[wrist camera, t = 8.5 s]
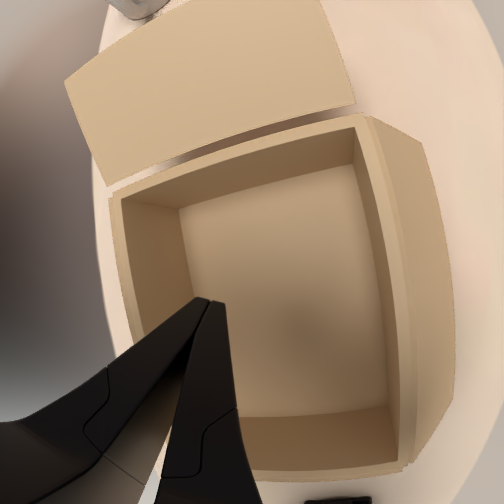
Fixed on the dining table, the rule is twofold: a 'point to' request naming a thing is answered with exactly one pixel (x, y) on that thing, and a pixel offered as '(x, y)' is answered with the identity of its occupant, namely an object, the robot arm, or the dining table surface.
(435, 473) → the dining table surface
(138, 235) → the carton
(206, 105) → the flap
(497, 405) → the dining table surface
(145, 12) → the cup
